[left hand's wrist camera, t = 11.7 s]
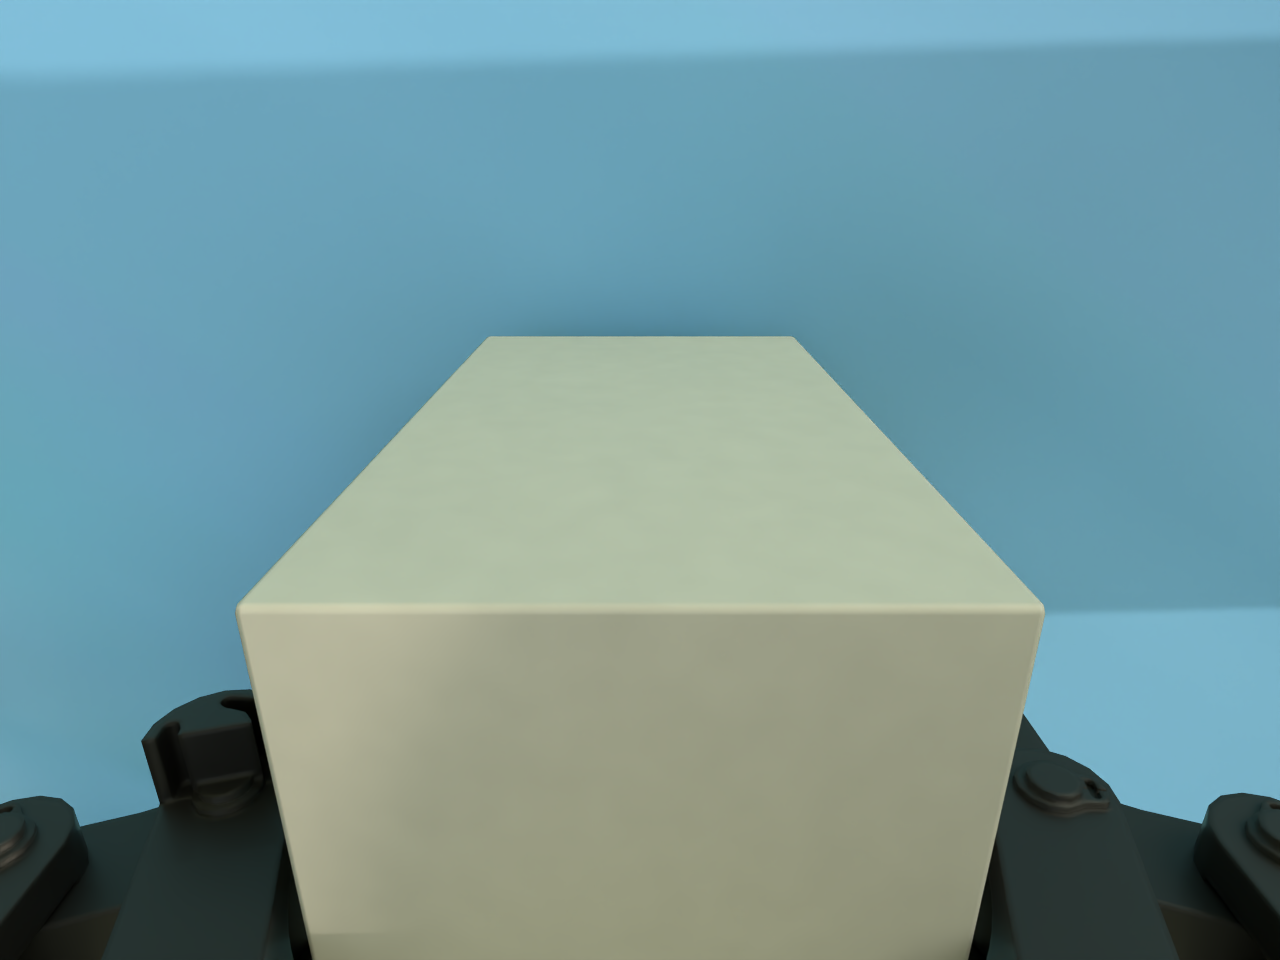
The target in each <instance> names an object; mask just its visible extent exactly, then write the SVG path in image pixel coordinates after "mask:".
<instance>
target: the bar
mask: <svg viewBox="0 0 1280 960" xmlns="http://www.w3.org/2000/svg"><path fill="white" fill-rule="evenodd" d="M235 615H236V620H237V624H238V629H239V633H240V637H241V642H242V646H243V651H244V655H245V660H246V664H247V669H248V673H249V678H250V682H251V687H252V691H253V696H254V700H255V705H256V709H257V714H258V718H259V723H260V727H261V732H262V736H263V741H264V745H265V750H266V754H267V759H268V763H269V768H270V772H271V777H272V781H273V786H274V790H275V794H276V799H277V803H278V808H279V812H280V817H281V821H282V826H283V830H284V835H285V839H286V844H287V848H288V853H289V857H290V862H291V866H292V871H293V875H294V880H295V884H296V889H297V893H298V898H299V902H300V907H301V911H302V916H303V920H304V925H305V929H306V934H307V938H308V942H309V947H310V951H311V956H312V960H968V958H969V953H970V949H971V944H972V940H973V935H974V931H975V926H976V922H977V917H978V913H979V908H980V904H981V899H982V895H983V891H984V886H985V882H986V877H987V873H988V868H989V864H990V859H991V855H992V850H993V846H994V841H995V837H996V832H997V828H998V823H999V819H1000V814H1001V810H1002V805H1003V801H1004V796H1005V792H1006V787H1007V783H1008V778H1009V774H1010V769H1011V765H1012V760H1013V756H1014V751H1015V747H1016V742H1017V738H1018V733H1019V729H1020V724H1021V720H1022V715H1023V711H1024V706H1025V702H1026V697H1027V693H1028V688H1029V684H1030V679H1031V675H1032V670H1033V666H1034V662H1035V657H1036V653H1037V648H1038V644H1039V639H1040V635H1041V630H1042V626H1043V621H1044V617H1045V610H1044V606H1043V604H1042V603H1041V602H1040V601H1039V599H1038V598H1037V597H1036V596H1035V595H1034V594H1033V593H1032V592H1031V591H1030V590H1029V589H1028V588H1027V587H1026V586H1025V585H1024V583H1023V582H1022V581H1021V580H1020V579H1019V578H1018V577H1017V576H1016V575H1015V574H1014V573H1013V572H1012V571H1011V570H1010V568H1009V567H1008V566H1007V565H1006V564H1005V563H1004V562H1003V561H1002V560H1001V559H1000V558H999V557H998V556H997V555H996V553H995V552H994V551H993V550H992V549H991V548H990V547H989V546H988V545H987V544H986V543H985V542H984V541H983V540H982V538H981V537H980V536H979V535H978V534H977V533H976V532H975V531H974V530H973V529H972V528H971V527H970V526H969V525H968V523H967V522H966V521H965V520H964V519H963V518H962V517H961V516H960V515H959V514H958V513H957V512H956V511H955V510H954V508H953V507H952V506H951V505H950V504H949V503H948V502H947V501H946V500H945V499H944V498H943V497H942V496H941V495H940V493H939V492H938V491H937V490H936V489H935V488H934V487H933V486H932V485H931V484H930V483H929V482H928V481H927V480H926V478H925V477H924V476H923V475H922V474H921V473H920V472H919V471H918V470H917V469H916V468H915V467H914V466H913V465H912V464H911V462H910V461H909V460H908V459H907V458H906V457H905V456H904V455H903V454H902V453H901V452H900V451H899V450H898V449H897V447H896V446H895V445H894V444H893V443H892V442H891V441H890V440H889V439H888V438H887V437H886V436H885V435H884V434H883V432H882V431H881V430H880V429H879V428H878V427H877V426H876V425H875V424H874V423H873V422H872V421H871V420H870V419H869V417H868V416H867V415H866V414H865V413H864V412H863V411H862V410H861V409H860V408H859V407H858V406H857V405H856V404H855V402H854V401H853V400H852V399H851V398H850V397H849V396H848V395H847V394H846V393H845V392H844V391H843V390H842V389H841V387H840V386H839V385H838V384H837V383H836V382H835V381H834V380H833V379H832V378H831V377H830V376H829V375H828V374H827V372H826V371H825V370H824V369H823V368H822V367H821V366H820V365H819V364H818V363H817V362H816V361H815V360H814V359H813V357H812V356H811V355H810V354H809V353H808V352H807V351H806V350H805V349H804V348H803V347H802V346H801V345H800V344H799V342H798V341H797V340H796V339H795V338H794V337H792V336H489V337H487V338H486V339H485V340H484V341H483V342H482V343H481V345H480V346H479V347H478V348H477V349H476V350H475V351H474V352H473V353H472V354H471V355H470V356H469V357H468V358H467V360H466V361H465V362H464V363H463V364H462V365H461V366H460V367H459V368H458V369H457V370H456V371H455V372H454V373H453V374H452V376H451V377H450V378H449V379H448V380H447V381H446V382H445V383H444V384H443V385H442V386H441V387H440V388H439V389H438V390H437V392H436V393H435V394H434V395H433V396H432V397H431V398H430V399H429V400H428V401H427V402H426V403H425V404H424V405H423V406H422V408H421V409H420V410H419V411H418V412H417V413H416V414H415V415H414V416H413V417H412V418H411V419H410V420H409V421H408V422H407V424H406V425H405V426H404V427H403V428H402V429H401V430H400V431H399V432H398V433H397V434H396V435H395V436H394V437H393V438H392V440H391V441H390V442H389V443H388V444H387V445H386V446H385V447H384V448H383V449H382V450H381V451H380V452H379V453H378V454H377V456H376V457H375V458H374V459H373V460H372V461H371V462H370V463H369V464H368V465H367V466H366V467H365V468H364V469H363V470H362V472H361V473H360V474H359V475H358V476H357V477H356V478H355V479H354V480H353V481H352V482H351V483H350V484H349V485H348V486H347V488H346V489H345V490H344V491H343V492H342V493H341V494H340V495H339V496H338V497H337V498H336V499H335V500H334V501H333V502H332V504H331V505H330V506H329V507H328V508H327V509H326V510H325V511H324V512H323V513H322V514H321V515H320V516H319V517H318V518H317V520H316V521H315V522H314V523H313V524H312V525H311V526H310V527H309V528H308V529H307V530H306V531H305V532H304V533H303V534H302V536H301V537H300V538H299V539H298V540H297V541H296V542H295V543H294V544H293V545H292V546H291V547H290V548H289V549H288V551H287V552H286V553H285V554H284V555H283V556H282V557H281V558H280V559H279V560H278V561H277V562H276V563H275V564H274V565H273V567H272V568H271V569H270V570H269V571H268V572H267V573H266V574H265V575H264V576H263V577H262V578H261V579H260V580H259V581H258V583H257V584H256V585H255V586H254V587H253V588H252V589H251V590H250V591H249V592H248V593H247V594H246V595H245V596H244V597H243V599H242V600H241V601H240V602H239V603H238V604H237V607H236V612H235Z"/></svg>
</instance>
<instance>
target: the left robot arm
mask: <svg viewBox="0 0 1280 960" xmlns="http://www.w3.org/2000/svg"><path fill="white" fill-rule="evenodd" d="M141 742H142V745H143V749H144V752H145V755H146V759H147V762H148V765H149V769H150V772H151V775H152V779H153V782H154V785H155V788H156V792H157V795H158V798H159V802H160V805H159V807H158V808H155V809H151V810H148V811H145V812H141V813H137V814H133V815H129V816H124V817H120V818H116V819H111V820H107V821H103V822H99V823H94V824H90V825H86V826H81V827H80V825H79V823H78V820H77V817H76V814H75V811H74V809H73V808H72V807H71V806H70V805H69V804H67V803H66V802H65V801H64V800H62V799H60V798H53V797H45V796H36V797H29V798H23V799H16V800H11V801H9V802H6V803H3V804H0V960H312V956H311V951H310V947H309V942H308V938H307V934H306V929H305V925H304V920H303V916H302V911H301V907H300V902H299V898H298V893H297V889H296V884H295V880H294V875H293V871H292V866H291V862H290V857H289V853H288V848H287V844H286V839H285V835H284V830H283V826H282V821H281V817H280V812H279V808H278V803H277V799H276V794H275V790H274V786H273V781H272V777H271V772H270V768H269V763H268V759H267V754H266V750H265V745H264V741H263V736H262V732H261V727H260V723H259V718H258V714H257V709H256V705H255V700H254V696H253V691H252V690H250V689H249V690H229V691H222V692H218V693H215V694H211V695H207V696H203V697H199V698H197V699H195V700H193V701H191V702H188V703H186V704H184V705H182V706H180V707H178V708H175V709H174V710H172V711H171V712H170V713H168V714H167V715H166V716H164V717H163V718H161V719H160V720H159V721H157V722H156V723H155V724H154V725H153V726H152V727H151V729H150V730H149V731H148V733H147V734H146V735H145V737H144V738H143V739H142V741H141ZM968 960H1280V801H1279V800H1277V799H1274V798H1271V797H1266V796H1259V795H1253V794H1246V793H1237V794H1229V795H1222V796H1220V797H1219V798H1217V799H1216V800H1215V801H1214V802H1212V803H1211V804H1210V805H1209V806H1208V809H1207V812H1206V815H1205V817H1204V820H1203V823H1202V824H1200V823H1196V822H1191V821H1187V820H1183V819H1178V818H1174V817H1170V816H1165V815H1161V814H1157V813H1153V812H1148V811H1144V810H1140V809H1137V808H1133V807H1130V806H1127V805H1123V804H1120V802H1119V800H1118V799H1117V797H1116V795H1115V794H1114V792H1113V791H1112V789H1111V788H1110V786H1109V785H1108V784H1107V783H1106V782H1105V781H1104V780H1102V779H1101V778H1100V777H1099V776H1098V775H1096V774H1095V773H1094V772H1093V771H1092V770H1090V769H1089V768H1087V767H1085V766H1083V765H1082V764H1080V763H1078V762H1076V761H1074V760H1072V759H1070V758H1068V757H1066V756H1063V755H1060V754H1056V753H1053V752H1050V751H1049V750H1048V748H1047V747H1046V746H1045V744H1044V743H1043V741H1042V740H1041V738H1040V737H1039V736H1038V734H1037V733H1036V731H1035V730H1034V728H1033V727H1032V726H1031V724H1030V723H1029V721H1028V720H1027V718H1026V717H1025V716H1024V714H1023V715H1022V720H1021V724H1020V729H1019V733H1018V738H1017V742H1016V747H1015V751H1014V756H1013V760H1012V765H1011V769H1010V774H1009V778H1008V783H1007V787H1006V792H1005V796H1004V801H1003V805H1002V810H1001V814H1000V819H999V823H998V828H997V832H996V837H995V841H994V846H993V850H992V855H991V859H990V864H989V868H988V873H987V877H986V882H985V886H984V891H983V895H982V899H981V904H980V908H979V913H978V917H977V922H976V926H975V931H974V935H973V940H972V944H971V949H970V953H969V958H968Z"/></svg>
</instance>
